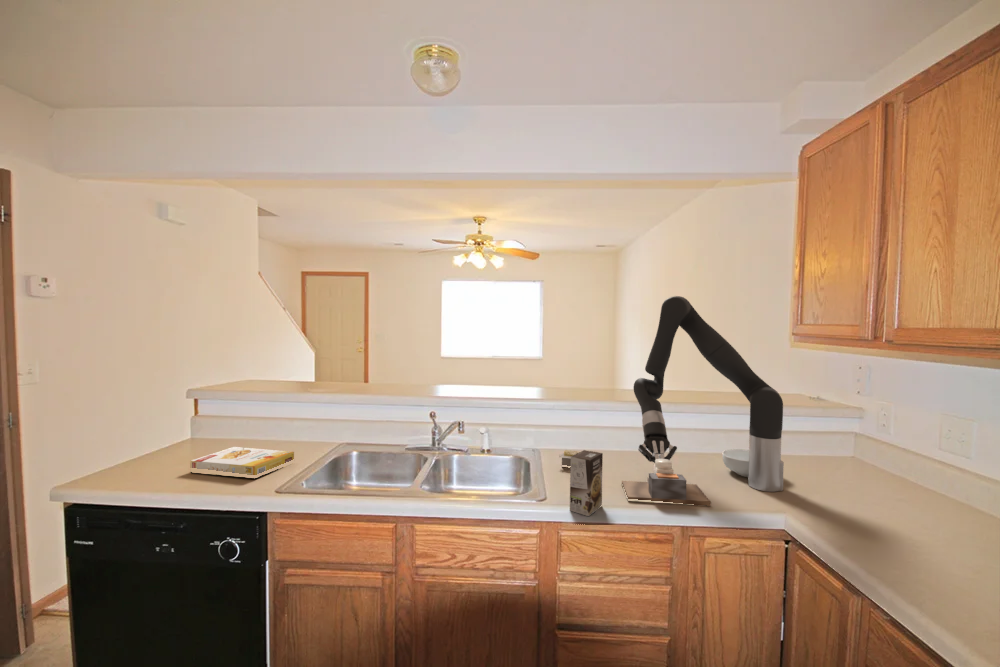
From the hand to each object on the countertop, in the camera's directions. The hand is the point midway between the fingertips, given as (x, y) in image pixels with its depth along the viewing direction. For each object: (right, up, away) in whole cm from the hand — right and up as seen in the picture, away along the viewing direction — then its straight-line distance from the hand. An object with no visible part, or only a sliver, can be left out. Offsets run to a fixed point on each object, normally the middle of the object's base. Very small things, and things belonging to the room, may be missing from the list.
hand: (661, 472), depth 147 cm
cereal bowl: (+37, -6, +17) cm, 41 cm away
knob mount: (-1, -6, -4) cm, 7 cm away
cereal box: (-148, -5, +21) cm, 149 cm away
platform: (-25, -6, +23) cm, 34 cm away
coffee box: (-27, -6, -14) cm, 31 cm away
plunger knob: (-1, -4, -3) cm, 5 cm away
